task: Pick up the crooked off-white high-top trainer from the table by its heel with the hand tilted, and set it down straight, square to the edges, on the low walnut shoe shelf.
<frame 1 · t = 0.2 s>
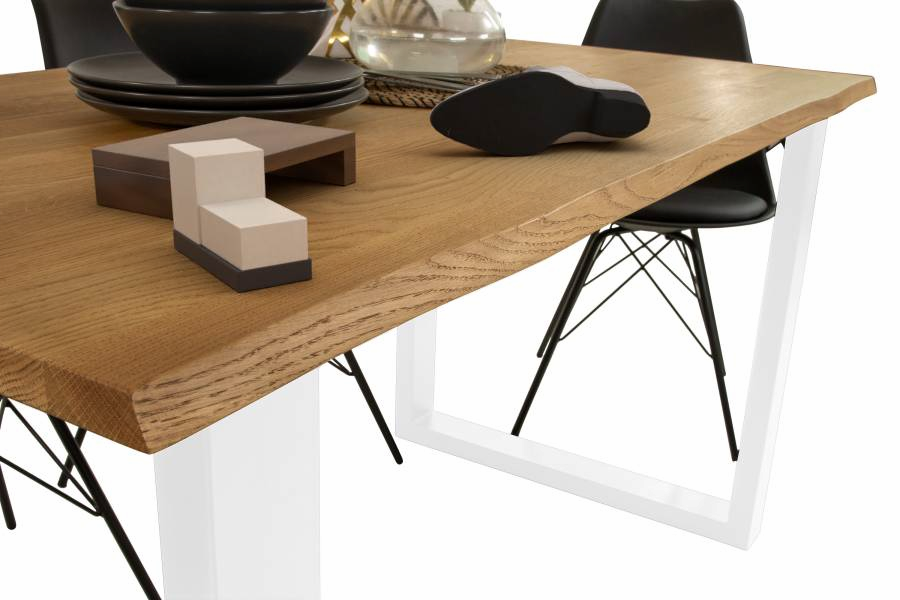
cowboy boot: (515, 136, 124), on the table
trainer: (240, 262, 74), on the table
shoe shelf: (233, 192, 94), on the table
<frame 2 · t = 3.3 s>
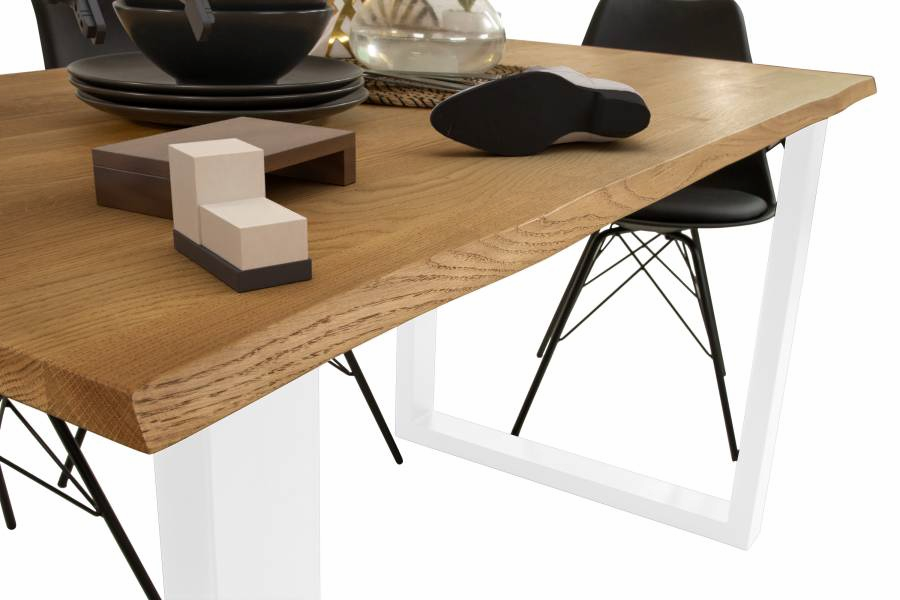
hand: (154, 36, 80), 15 cm above the table, tool tilted 45°, fingers open, 8 cm apart
nothing on the table moved.
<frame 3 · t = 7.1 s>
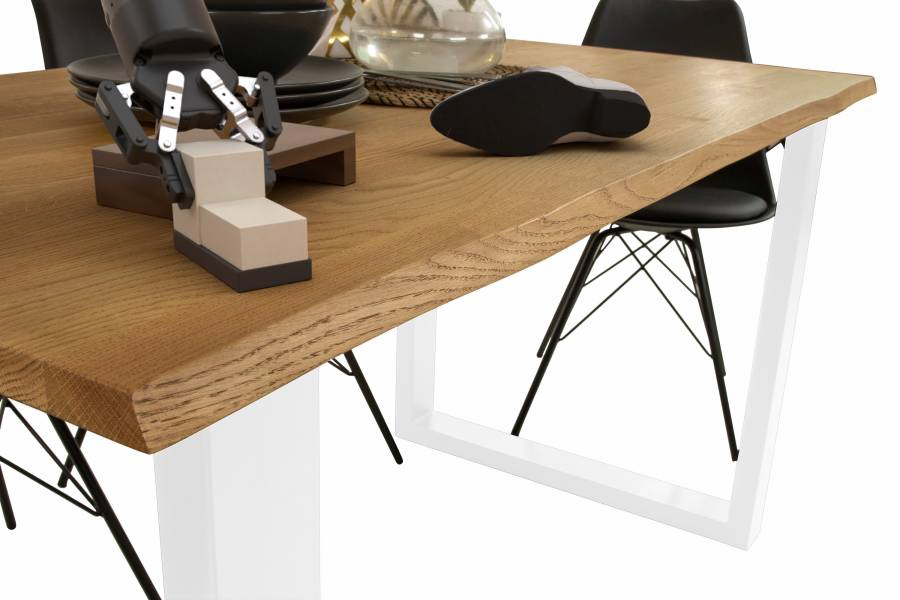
hand: (227, 198, 74), 5 cm above the table, tool tilted 45°, fingers closed on trainer, 5 cm apart
trainer: (240, 262, 74), on the table, touching gripper
everything else where it was.
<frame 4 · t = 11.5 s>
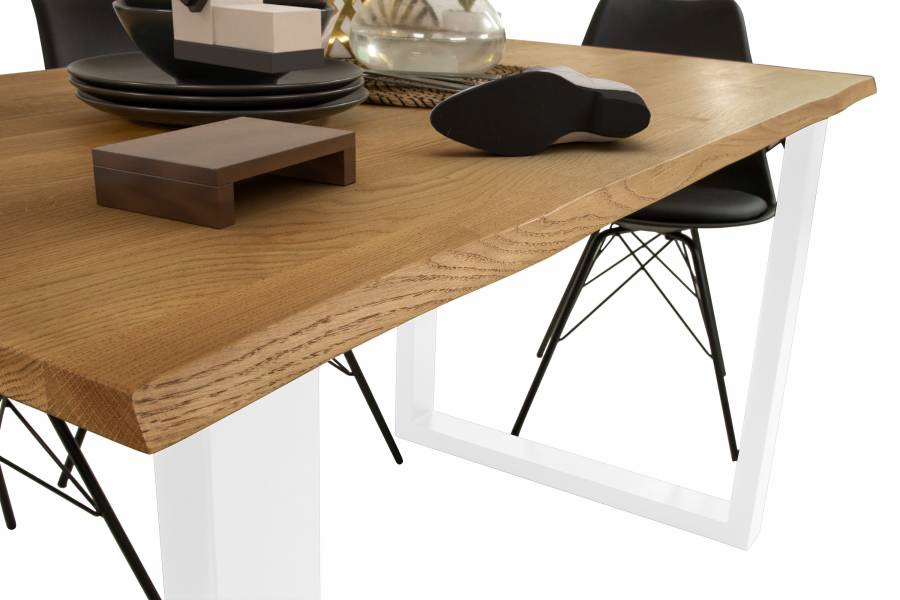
hand: (231, 3, 81), 17 cm above the table, tool tilted 45°, fingers closed on trainer, 5 cm apart
trainer: (248, 62, 82), point 13 cm above the table, touching gripper
everything else where it was.
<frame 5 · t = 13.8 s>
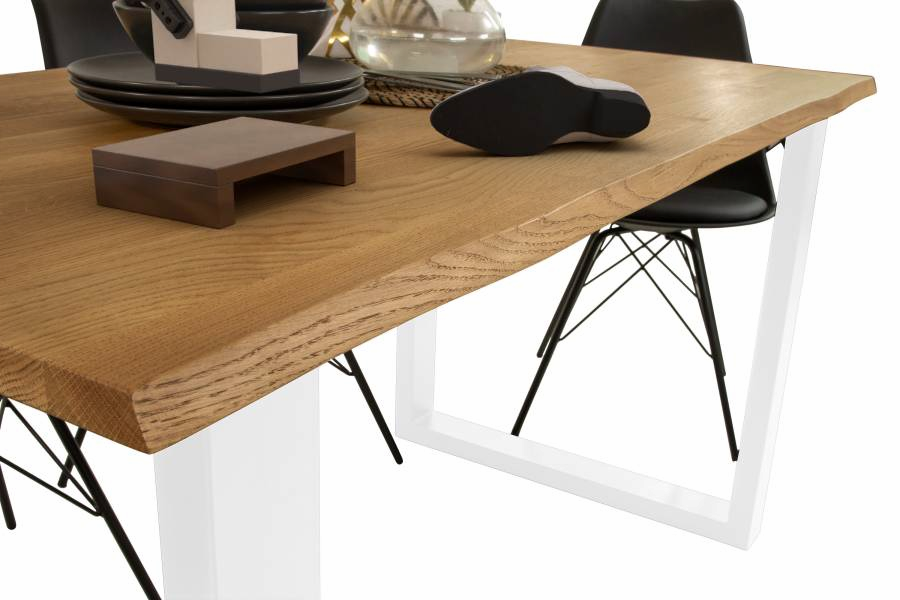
hand: (210, 29, 89), 15 cm above the table, tool tilted 45°, fingers closed on trainer, 5 cm apart
trainer: (227, 83, 90), point 10 cm above the table, touching gripper
everything else where it was.
when the fingers open (10 cm above the table, at t = 15.7 s): trainer stays where it is, resting on shoe shelf.
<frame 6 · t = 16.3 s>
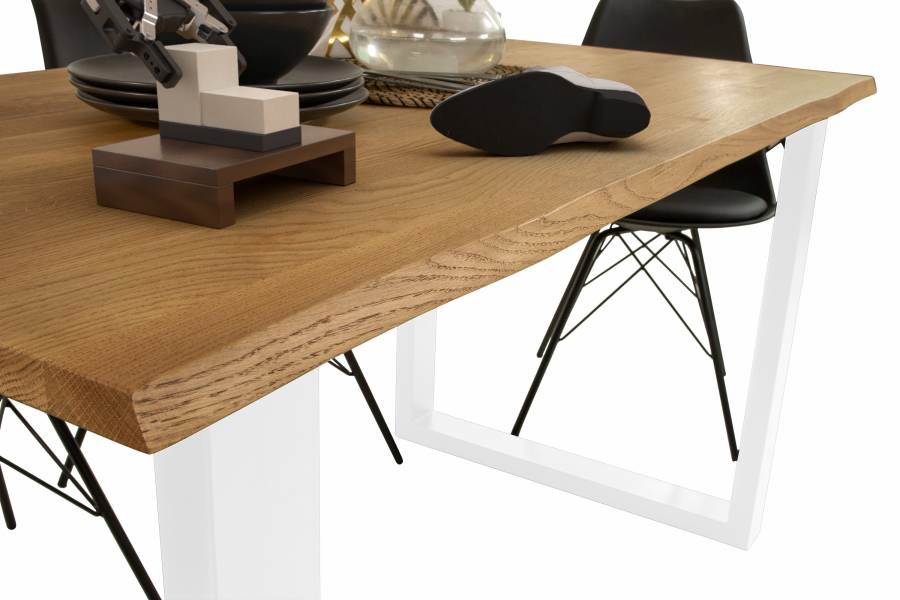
hand: (209, 77, 91), 10 cm above the table, tool tilted 45°, fingers open, 8 cm apart
trainer: (230, 139, 92), point 5 cm above the table, touching shoe shelf
everything else where it was.
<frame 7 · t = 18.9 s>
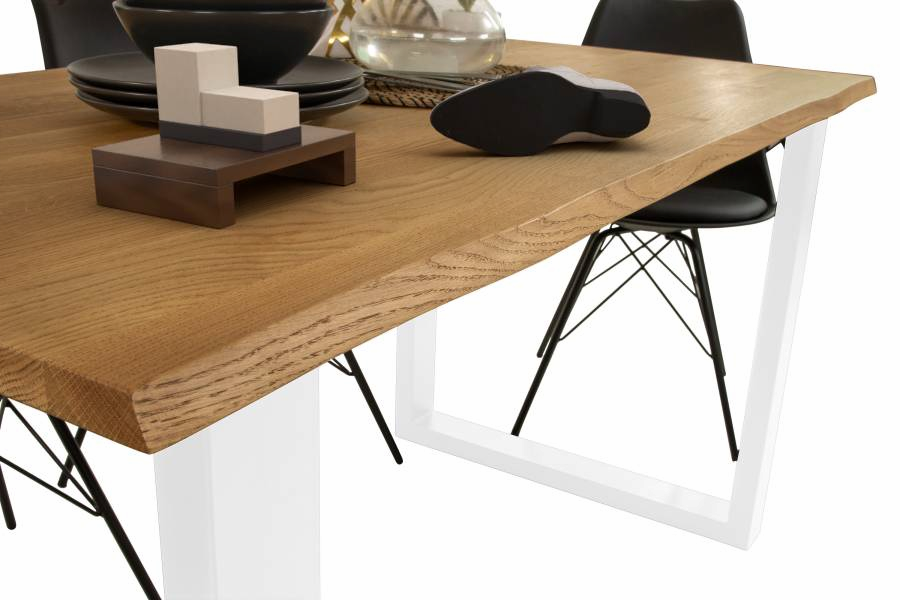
nothing on the table moved.
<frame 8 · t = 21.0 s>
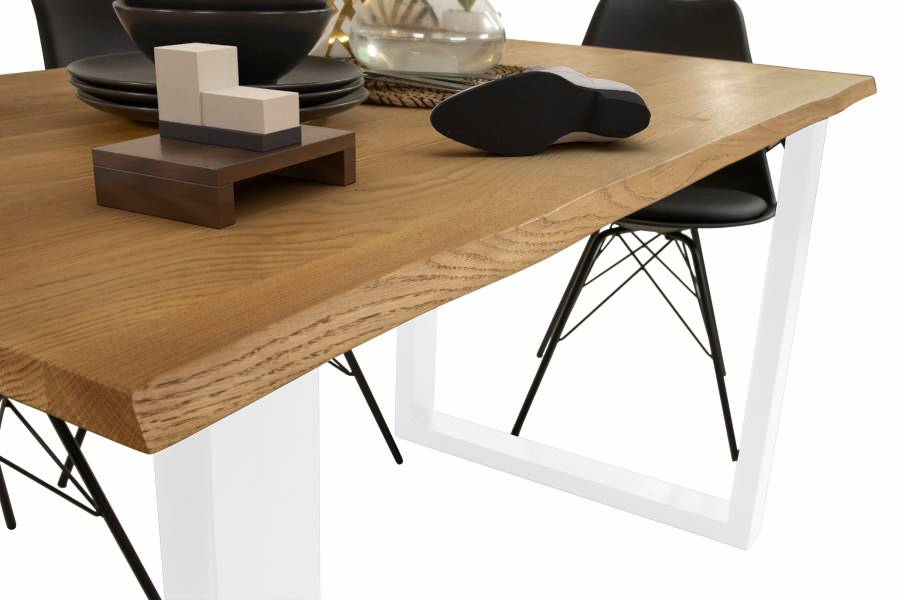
nothing on the table moved.
at the end: trainer inside the target area on the shoe shelf (0.0 cm from its centre), point 5.0 cm above the shoe shelf's base; trainer tilted 0°; the gripper is holding nothing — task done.
